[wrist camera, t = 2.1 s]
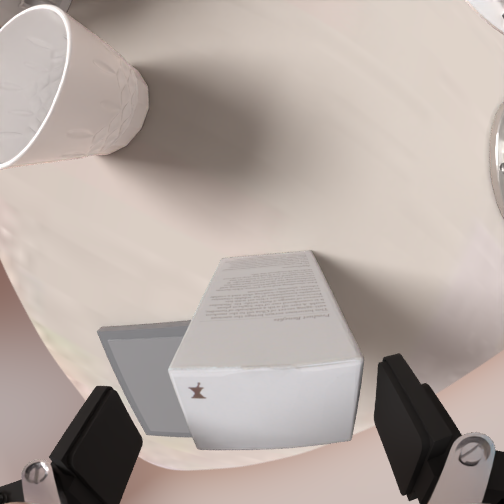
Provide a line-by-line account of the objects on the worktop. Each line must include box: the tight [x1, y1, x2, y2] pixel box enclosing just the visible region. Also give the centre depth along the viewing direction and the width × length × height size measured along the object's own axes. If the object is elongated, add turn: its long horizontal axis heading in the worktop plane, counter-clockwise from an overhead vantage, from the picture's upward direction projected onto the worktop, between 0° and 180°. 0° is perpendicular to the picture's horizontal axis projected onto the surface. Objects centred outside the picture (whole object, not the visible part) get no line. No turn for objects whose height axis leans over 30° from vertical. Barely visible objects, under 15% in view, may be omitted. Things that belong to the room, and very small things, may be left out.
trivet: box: [97, 320, 192, 437], centre depth 23 cm, size 12×12×1 cm
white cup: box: [0, 4, 149, 170], centre depth 13 cm, size 8×8×10 cm
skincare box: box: [168, 250, 364, 450], centre depth 15 cm, size 6×4×12 cm
